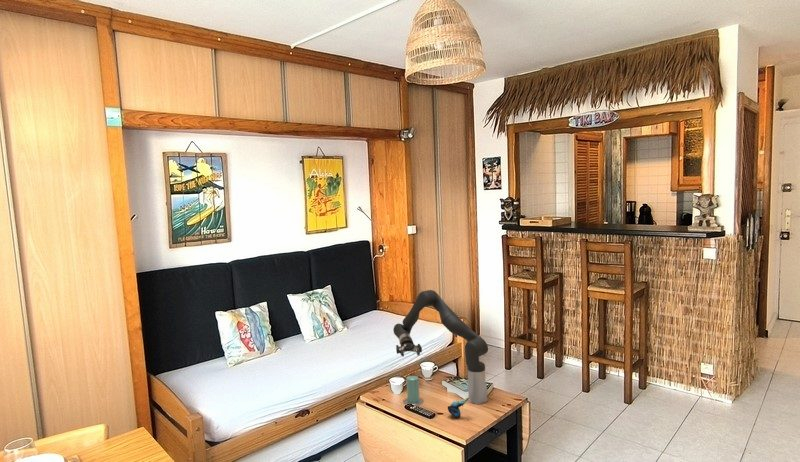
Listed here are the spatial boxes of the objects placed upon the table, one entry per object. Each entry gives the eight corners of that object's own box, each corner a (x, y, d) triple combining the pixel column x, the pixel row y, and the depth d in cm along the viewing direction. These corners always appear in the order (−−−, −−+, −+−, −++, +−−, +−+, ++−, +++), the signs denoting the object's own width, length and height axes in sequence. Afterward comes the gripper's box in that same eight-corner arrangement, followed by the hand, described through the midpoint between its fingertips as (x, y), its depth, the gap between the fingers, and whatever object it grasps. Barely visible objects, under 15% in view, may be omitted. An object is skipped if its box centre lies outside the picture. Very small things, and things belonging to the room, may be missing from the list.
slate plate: (422, 397, 267) (422, 396, 266) (424, 406, 256) (424, 405, 256) (402, 398, 266) (402, 397, 266) (404, 407, 255) (404, 406, 255)
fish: (467, 420, 238) (467, 400, 237) (447, 419, 240) (446, 399, 239) (468, 416, 242) (467, 396, 242) (448, 415, 244) (447, 395, 244)
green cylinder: (418, 398, 264) (417, 375, 263) (420, 403, 258) (418, 379, 257) (407, 399, 264) (405, 376, 262) (408, 404, 257) (407, 380, 256)
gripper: (394, 336, 282) (398, 349, 266) (418, 335, 284) (423, 347, 268) (394, 348, 283) (398, 361, 267) (418, 347, 285) (423, 360, 270)
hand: (410, 354), depth 268 cm, fingers open, 8 cm apart
